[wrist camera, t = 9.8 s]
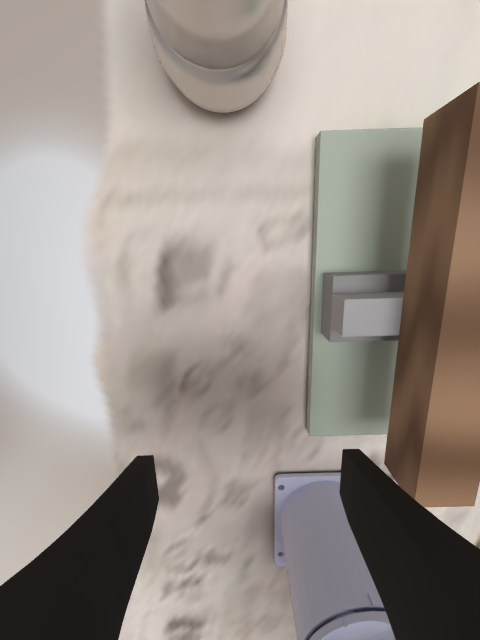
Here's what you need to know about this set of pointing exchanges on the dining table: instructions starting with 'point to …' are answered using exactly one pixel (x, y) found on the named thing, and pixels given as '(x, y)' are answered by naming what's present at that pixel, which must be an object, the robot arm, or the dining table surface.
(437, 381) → the walnut beam
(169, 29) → the plastic bottle
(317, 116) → the dining table surface
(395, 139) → the balance stand
